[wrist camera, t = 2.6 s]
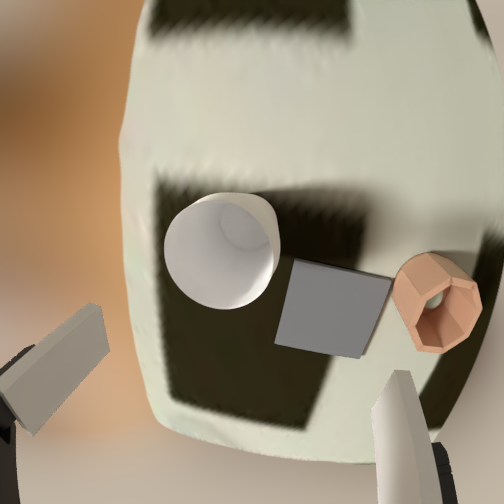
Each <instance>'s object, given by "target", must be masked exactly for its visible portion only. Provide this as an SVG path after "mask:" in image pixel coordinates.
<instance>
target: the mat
mask: <svg viewBox="0 0 504 504" xmlns="http://www.w3.org/2000/svg"><path fill="white" fill-rule="evenodd" d="M391 282H392V281H391V279H390V278H385V277H381V276H376V275H372V274H367V273H362V272H358V271H353V270H349V269H344V268H339V267H335V266H330V265H325V264H321V263H316V262H312V261H307V260H302V259H298V258H295V260H294V265H293V269H292V273H291V278H290V282H289V286H288V291H287V295H286V299H285V303H284V307H283V311H282V315H281V319H280V323H279V327H278V331H277V335H276V339H275V344H279V345H284V346H289V347H294V348H299V349H304V350H309V351H314V352H319V353H325V354H331V355H337V356H343V357H349V358H356V359H360V357H361V355H362V353H363V351H364V348H365V346H366V344H367V342H368V340H369V337H370V335H371V333H372V331H373V328H374V326H375V324H376V321H377V319H378V316H379V314H380V311H381V309H382V306H383V304H384V301H385V299H386V296H387V293H388V291H389V288H390V285H391Z"/></svg>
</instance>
